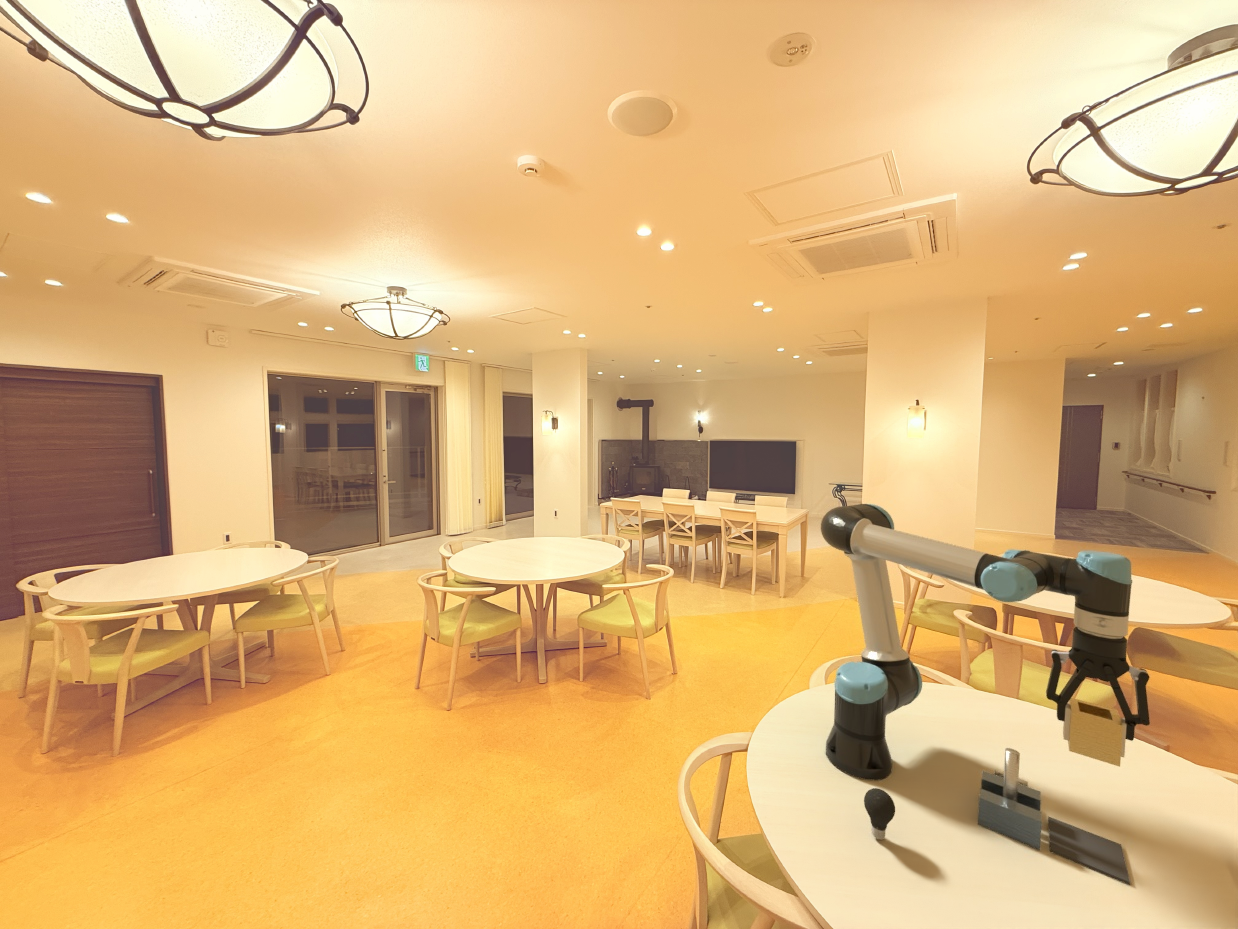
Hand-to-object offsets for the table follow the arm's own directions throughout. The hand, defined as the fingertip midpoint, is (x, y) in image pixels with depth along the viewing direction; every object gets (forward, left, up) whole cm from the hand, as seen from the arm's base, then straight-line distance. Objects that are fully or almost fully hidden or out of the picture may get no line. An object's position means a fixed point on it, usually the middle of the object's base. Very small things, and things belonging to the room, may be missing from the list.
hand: (1092, 744), depth 95 cm
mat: (0, 0, -22) cm, 22 cm away
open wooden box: (0, 0, -1) cm, 1 cm away
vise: (-12, +2, -22) cm, 25 cm away
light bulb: (-32, -24, -22) cm, 46 cm away
